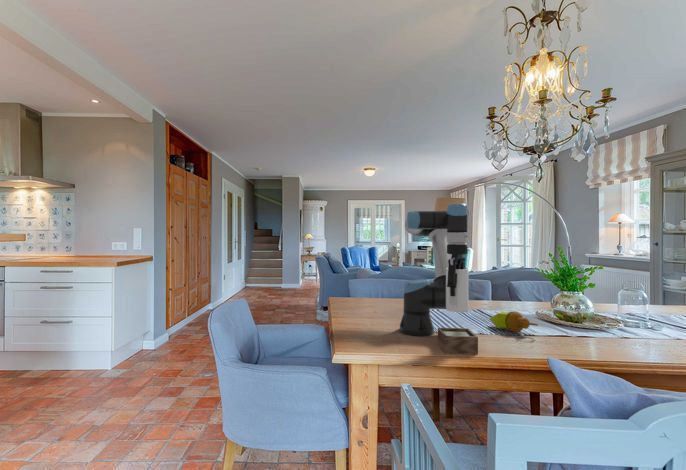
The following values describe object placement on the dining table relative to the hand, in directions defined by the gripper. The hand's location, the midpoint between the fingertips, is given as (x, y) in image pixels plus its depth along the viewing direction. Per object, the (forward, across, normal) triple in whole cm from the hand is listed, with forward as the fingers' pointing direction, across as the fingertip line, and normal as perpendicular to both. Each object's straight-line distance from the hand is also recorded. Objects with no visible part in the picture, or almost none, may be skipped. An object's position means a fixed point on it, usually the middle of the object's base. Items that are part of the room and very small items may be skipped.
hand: (457, 302), depth 130 cm
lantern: (+18, +38, -13) cm, 44 cm away
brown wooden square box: (+17, 0, 0) cm, 17 cm away
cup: (+3, 0, 0) cm, 3 cm away
